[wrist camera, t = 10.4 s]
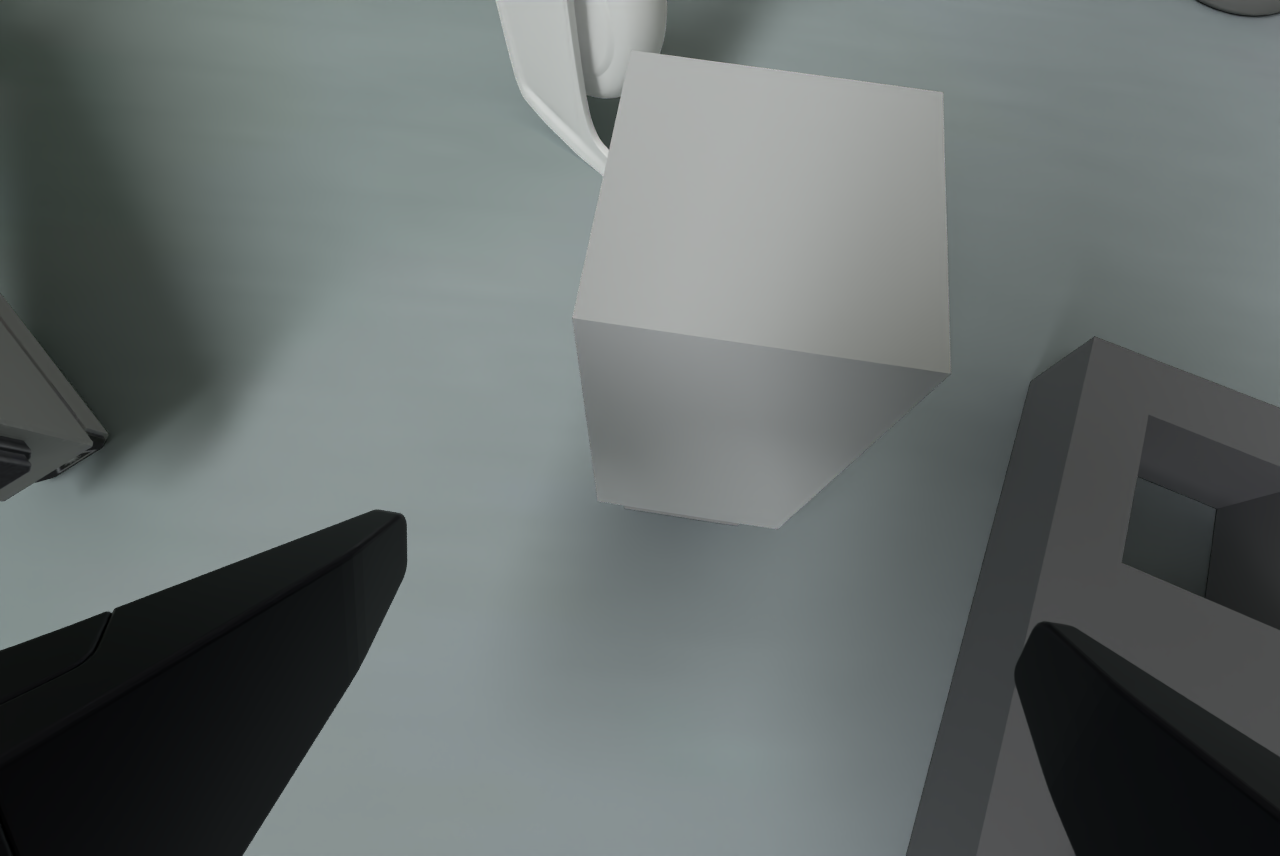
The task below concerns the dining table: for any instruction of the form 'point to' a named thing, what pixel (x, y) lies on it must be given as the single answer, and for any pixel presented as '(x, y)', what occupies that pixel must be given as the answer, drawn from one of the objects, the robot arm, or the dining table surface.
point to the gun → (37, 412)
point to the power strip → (1108, 581)
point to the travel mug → (1245, 6)
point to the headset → (577, 58)
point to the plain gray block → (758, 284)
